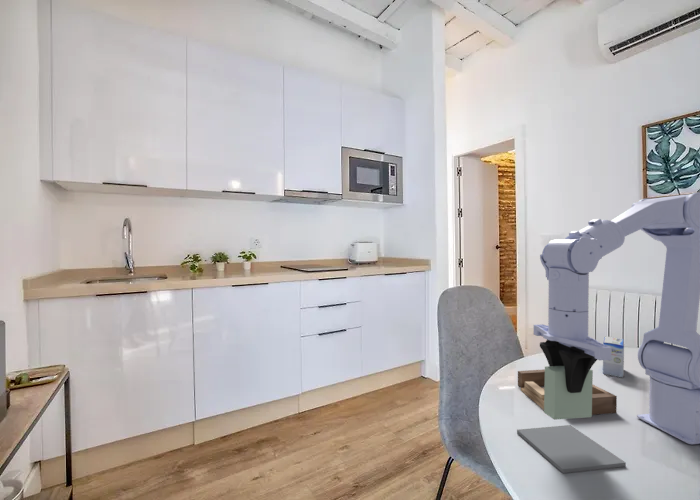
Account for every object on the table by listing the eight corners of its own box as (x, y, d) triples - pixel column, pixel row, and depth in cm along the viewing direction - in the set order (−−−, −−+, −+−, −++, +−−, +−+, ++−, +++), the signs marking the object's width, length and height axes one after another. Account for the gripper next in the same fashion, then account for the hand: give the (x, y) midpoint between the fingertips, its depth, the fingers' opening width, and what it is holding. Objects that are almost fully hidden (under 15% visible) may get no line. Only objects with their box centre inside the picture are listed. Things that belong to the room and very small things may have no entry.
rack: (616, 412, 69) (616, 396, 69) (566, 417, 67) (566, 399, 67) (559, 382, 84) (559, 368, 84) (517, 385, 83) (517, 371, 83)
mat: (625, 466, 52) (625, 462, 52) (562, 473, 51) (562, 469, 51) (570, 428, 63) (570, 425, 63) (517, 432, 62) (517, 429, 62)
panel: (591, 417, 56) (592, 370, 56) (554, 419, 55) (555, 371, 55) (580, 410, 59) (580, 365, 59) (544, 412, 58) (544, 366, 58)
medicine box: (603, 365, 96) (604, 335, 96) (623, 369, 93) (624, 338, 93) (602, 374, 90) (602, 342, 89) (623, 378, 87) (624, 345, 87)
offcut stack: (559, 415, 69) (559, 401, 69) (548, 415, 69) (548, 401, 69) (530, 391, 80) (530, 379, 80) (520, 391, 80) (520, 379, 80)
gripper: (519, 302, 63) (518, 373, 64) (582, 319, 49) (581, 410, 49) (552, 301, 64) (552, 370, 65) (624, 317, 50) (623, 407, 50)
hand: (567, 388), depth 57 cm, fingers closed on panel, 2 cm apart
